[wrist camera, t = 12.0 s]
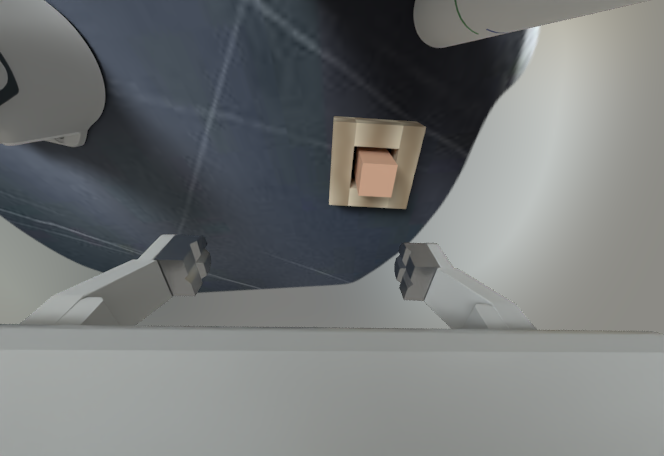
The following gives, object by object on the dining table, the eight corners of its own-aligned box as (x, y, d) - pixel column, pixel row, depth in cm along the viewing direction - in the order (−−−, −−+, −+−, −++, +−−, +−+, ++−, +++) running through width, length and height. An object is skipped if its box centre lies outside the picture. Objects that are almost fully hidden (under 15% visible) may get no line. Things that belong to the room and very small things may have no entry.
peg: (353, 172, 36) (358, 195, 30) (356, 145, 34) (362, 163, 28) (380, 174, 37) (391, 197, 30) (385, 147, 34) (397, 165, 28)
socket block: (329, 193, 38) (328, 204, 35) (333, 116, 32) (333, 121, 29) (399, 197, 38) (405, 209, 35) (416, 121, 33) (426, 127, 29)
